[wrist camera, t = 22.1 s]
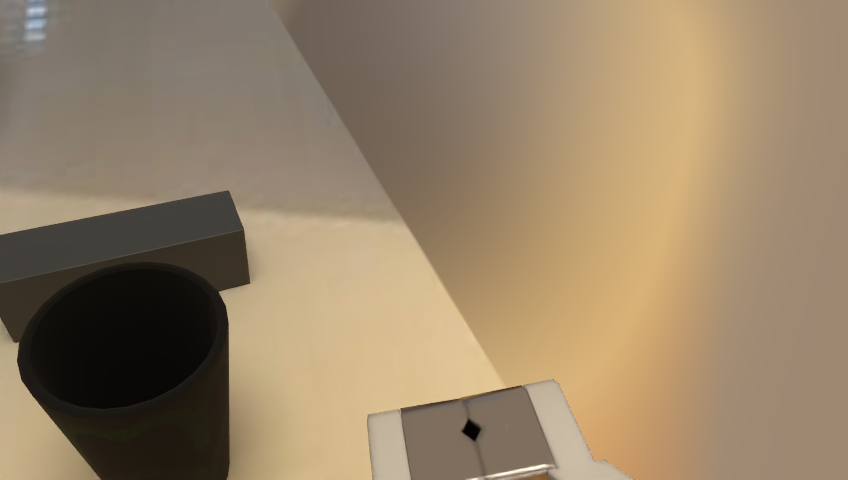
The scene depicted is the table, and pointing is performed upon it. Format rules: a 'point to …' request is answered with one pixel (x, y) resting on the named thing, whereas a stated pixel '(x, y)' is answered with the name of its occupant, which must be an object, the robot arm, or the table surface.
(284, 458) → the table surface
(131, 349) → the cup
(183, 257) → the stop block
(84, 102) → the table surface
